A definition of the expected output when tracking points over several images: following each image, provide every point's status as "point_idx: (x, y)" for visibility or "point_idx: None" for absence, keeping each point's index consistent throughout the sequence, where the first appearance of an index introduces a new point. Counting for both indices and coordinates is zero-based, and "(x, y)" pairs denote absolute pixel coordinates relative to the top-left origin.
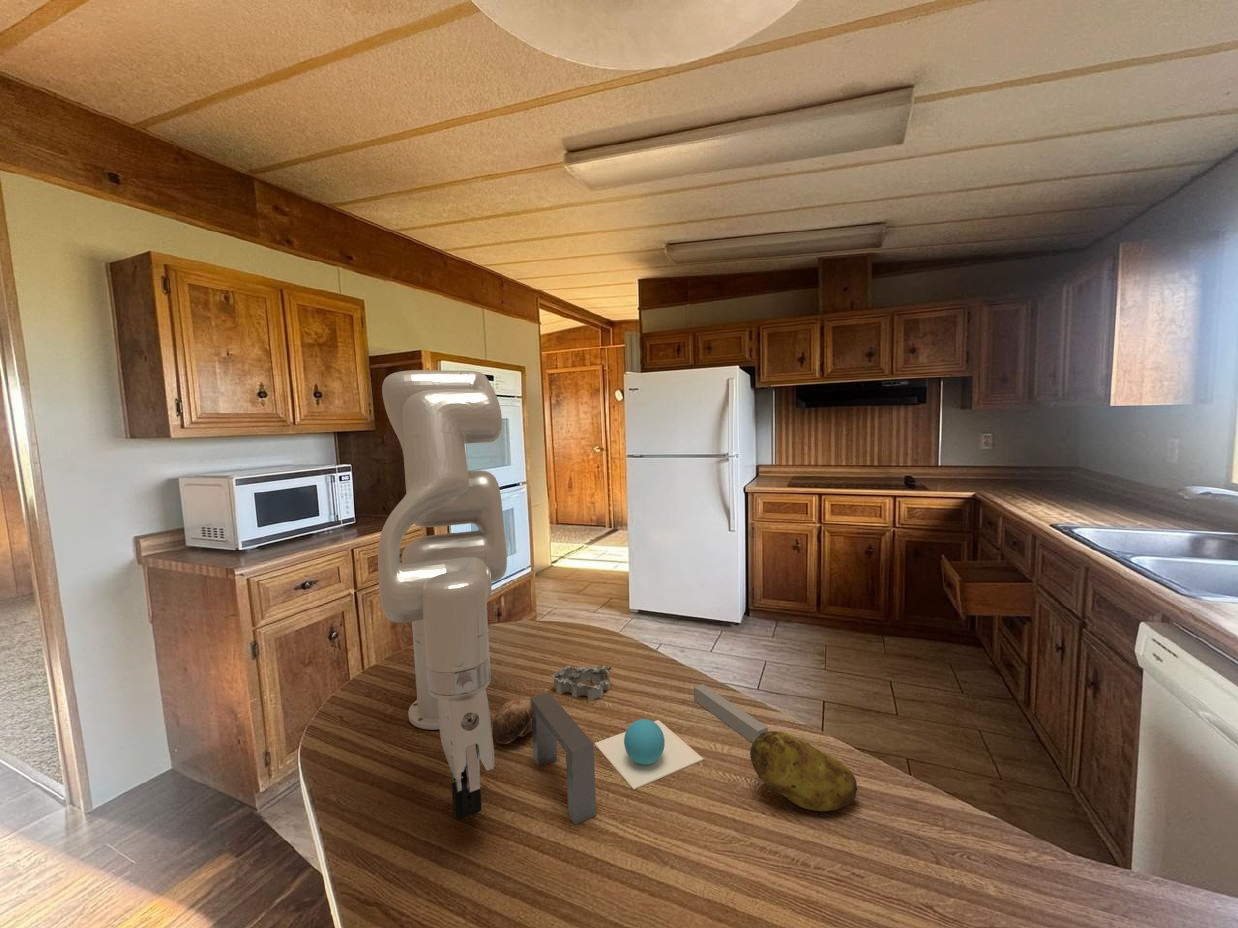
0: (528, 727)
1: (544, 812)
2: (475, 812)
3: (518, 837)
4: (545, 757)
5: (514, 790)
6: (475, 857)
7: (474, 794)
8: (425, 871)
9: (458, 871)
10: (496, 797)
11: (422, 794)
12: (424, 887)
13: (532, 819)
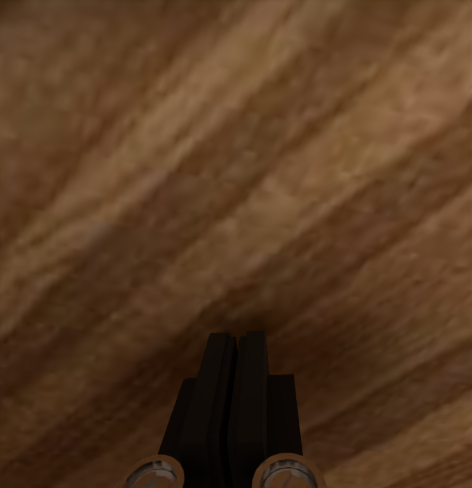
0: None
1: (339, 38)
2: (266, 350)
3: (422, 191)
4: None
5: (134, 147)
6: (422, 349)
7: (299, 435)
8: (388, 472)
9: (448, 400)
10: (150, 229)
11: (50, 442)
12: (446, 480)
13: (354, 109)
